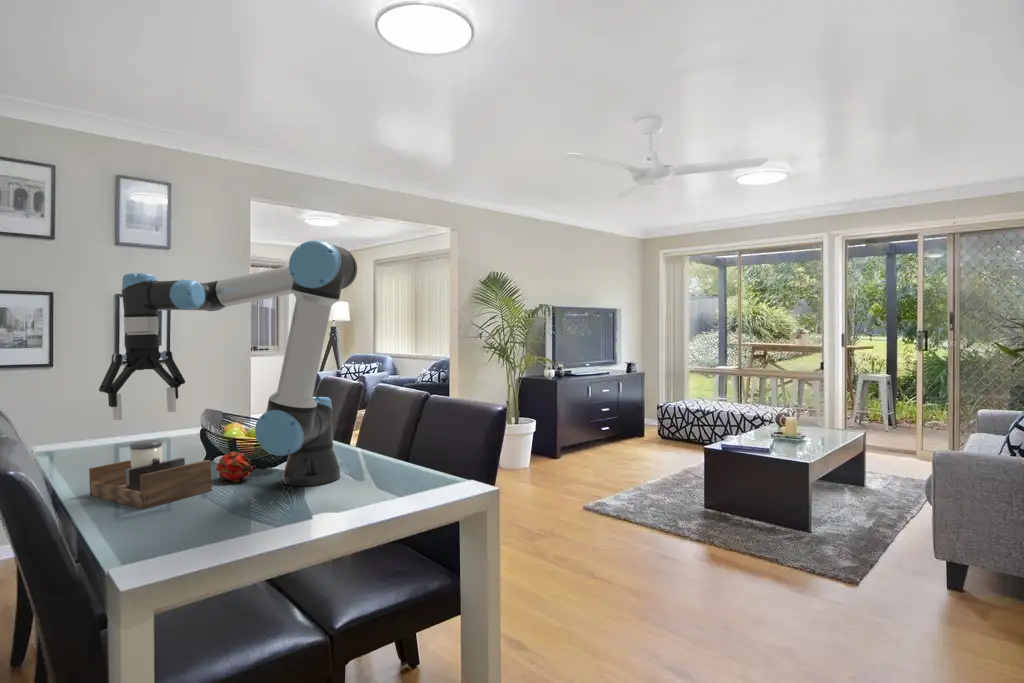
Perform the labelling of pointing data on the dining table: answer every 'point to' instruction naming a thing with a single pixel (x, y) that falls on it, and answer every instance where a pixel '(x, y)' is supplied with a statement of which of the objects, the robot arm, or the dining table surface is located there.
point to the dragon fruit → (234, 466)
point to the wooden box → (150, 483)
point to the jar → (145, 452)
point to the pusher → (149, 471)
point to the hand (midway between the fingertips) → (145, 415)
